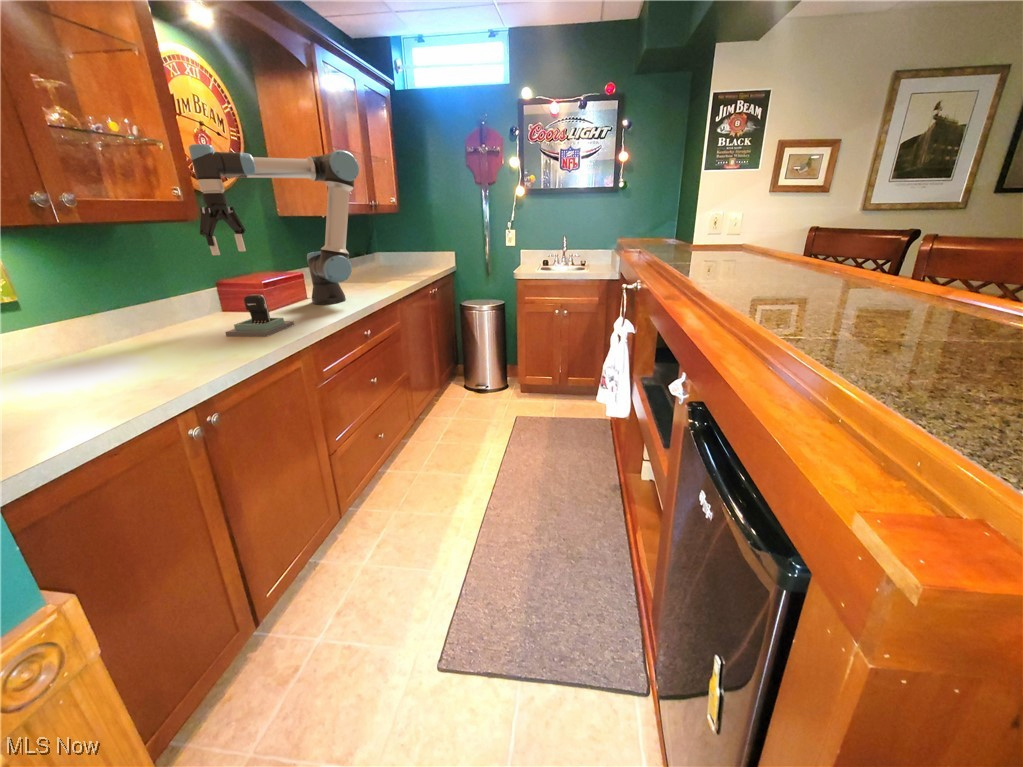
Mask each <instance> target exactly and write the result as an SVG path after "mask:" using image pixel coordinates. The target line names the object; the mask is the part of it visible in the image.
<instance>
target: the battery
mask: <svg viewBox="0 0 1023 767" xmlns="http://www.w3.org/2000/svg"><path fill="white" fill-rule="evenodd" d="M243 301H244V307H245V311H248V312H249V315H250V317H251V318H252V324H265V323H268V322H270V321H271V319H270V318H271V315H270V311H269V305H268V303H267V302H268V301H267V298H266V297H265V296H264V295H263V294H250V295H246V296H244V298H243ZM251 318H250V319H251Z"/></svg>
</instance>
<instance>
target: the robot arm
mask: <svg viewBox="0 0 1023 767" xmlns="http://www.w3.org/2000/svg"><path fill="white" fill-rule="evenodd" d="M188 150H189V154H190V160H191V163H192V167H193V169H194V173H195V176H196V180H197V184H198V187H199V190H200V192H201V198H202V201H203V204H204V205H206V206H203V207H200V208H199V210H200V224H199V235H201V236H202V237H204V238H206V241H207V245H208V246H209V249H210V252H211V255H212V256H221V252H220V249H219V246H218V245H219V244H218V242H217V238H216V236H214V233H215V231H216V226H217V223H218V222H219V221H224V222H225V223H226V224H227V225H228V227H230V229H231V230H232V231H233V232H234V234H233V235H234V239H235V242H236V247H237V250H238V252H246V251H247V249H246V246H245V240H244V235H243V234H245V232H247V231H246V228H245V227H244V225H243V222H241V220H240V218H239V217H238V215H237V212H236V210H235V208H234V206H227V204H228V198H227V195H226V193H224V192H225V191H226V190H225V186H224V184H223V180H222V177H224V178H227V179H234V178H237V179H239V178H241V179H242V178H248V179H249V178H252V179H253V178H255V179H257V178H259V179H261V178H262V179H266V178H267V179H309V180H310V181H312V182H323V183H324V184H325V185H326V186H327V188H328V189H327V200H326V201H327V203H326V204H327V205H326V217H325V218H326V221H325V237H324V238H325V239H324V246H322V247H321V248H320V251H312V252H309V253H307V255H306V260H307V261H306V262H307V264H308V269H309V275H310V278H311V283H312V292H311V303H312V304H314V305H332V304H337V303H341V302H344V301H346V300H347V298H346V294H345V292H344V290H343V289H342V286H341V285H340V283H343V282H345V281H347V280H348V279H349V278H350V277H351V276H352V273H353V271H352V270H353V266H352V263H351V261H350V260H349V259H350V253H349V251H348V250H347V248H346V247H347V237H348V236H347V235H348V234H347V233H348V223H349V222H348V220H349V207H350V206H349V205H350V193H351V191H353V190H354V187H355V180H356V179H357V178H358V176H359V173H360V166H359V163H358V160H357V159H356V158H355V156H354V155H353V154H352V153H350V152H349V151H346V150H344V149H343V150H341V149H340V150H334V151H332V152H329V153H328V152H327V153H324V154H322V155H317V156H310V155H309V156H307V157H306V158H293V157H292V158H291V157H290V158H287V157H286V158H285V157H284V158H283V157H262V156H259V157H258V156H252V154H250V153H247V152H228V151H226V152H225V151H215V149H214V147H213V146H212V145H211V144H203V143H201V144H200V143H196V144H195V143H194V144H190V145H189V147H188Z"/></svg>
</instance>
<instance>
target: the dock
mask: <svg viewBox="0 0 1023 767" xmlns="http://www.w3.org/2000/svg"><path fill="white" fill-rule="evenodd" d="M270 319H271V321H270V322H268V323H265V324H252V318H249V319H247V320H244V321H241V322H237V323H235V324H233V326H234V328H232V329H230V330H227V331H224V332H225V336H226V337H268V336H271V335H273V334H275V333H279V332H281V331H283V330H285V329H288V328H290V327H292V325H293V326H294V325H295V323H294V320H285V319H284V317H270Z"/></svg>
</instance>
